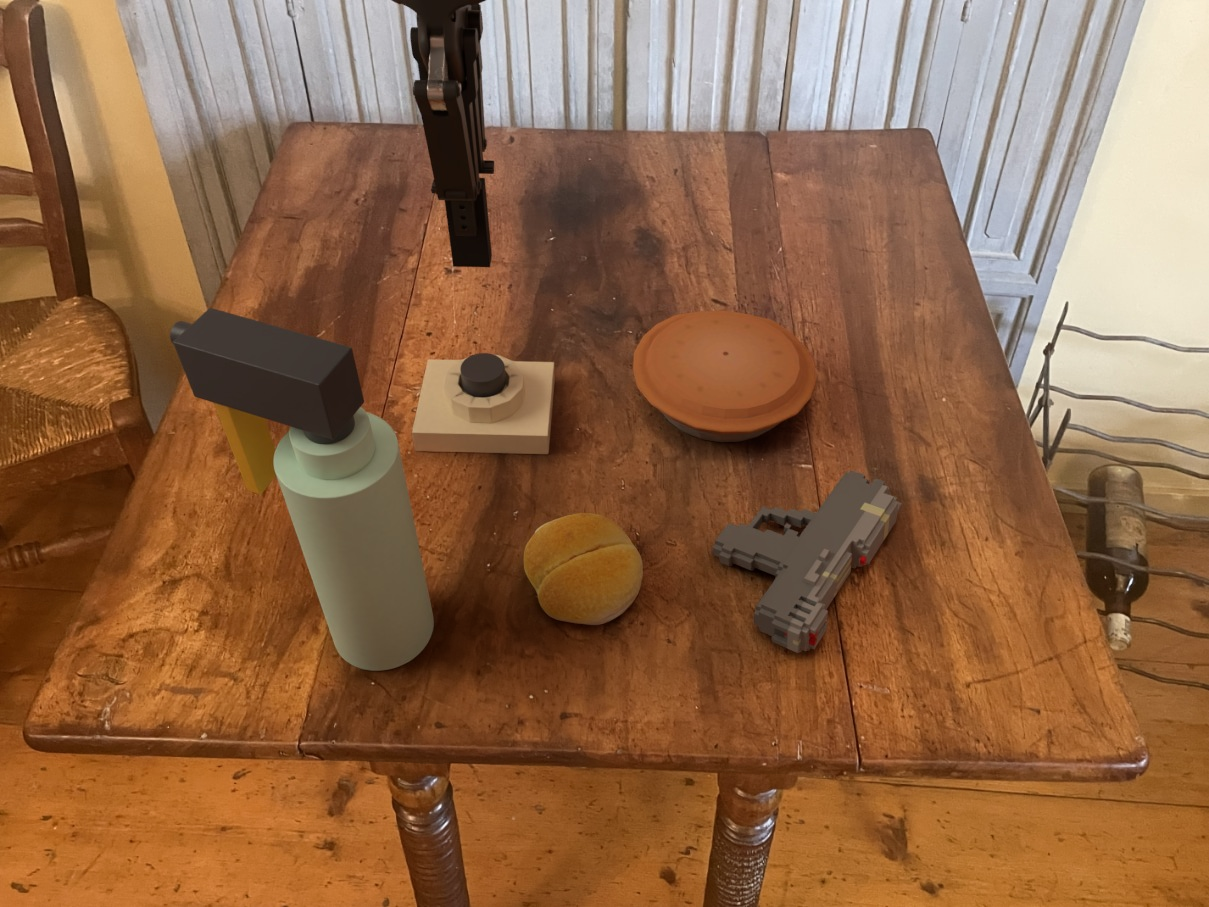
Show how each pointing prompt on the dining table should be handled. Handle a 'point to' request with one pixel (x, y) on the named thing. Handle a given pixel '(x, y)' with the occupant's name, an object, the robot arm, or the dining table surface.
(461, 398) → the timer
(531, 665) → the dining table surface
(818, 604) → the toy gun
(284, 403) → the spray bottle
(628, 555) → the bread roll
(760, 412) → the pie
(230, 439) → the strip
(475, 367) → the timer button
